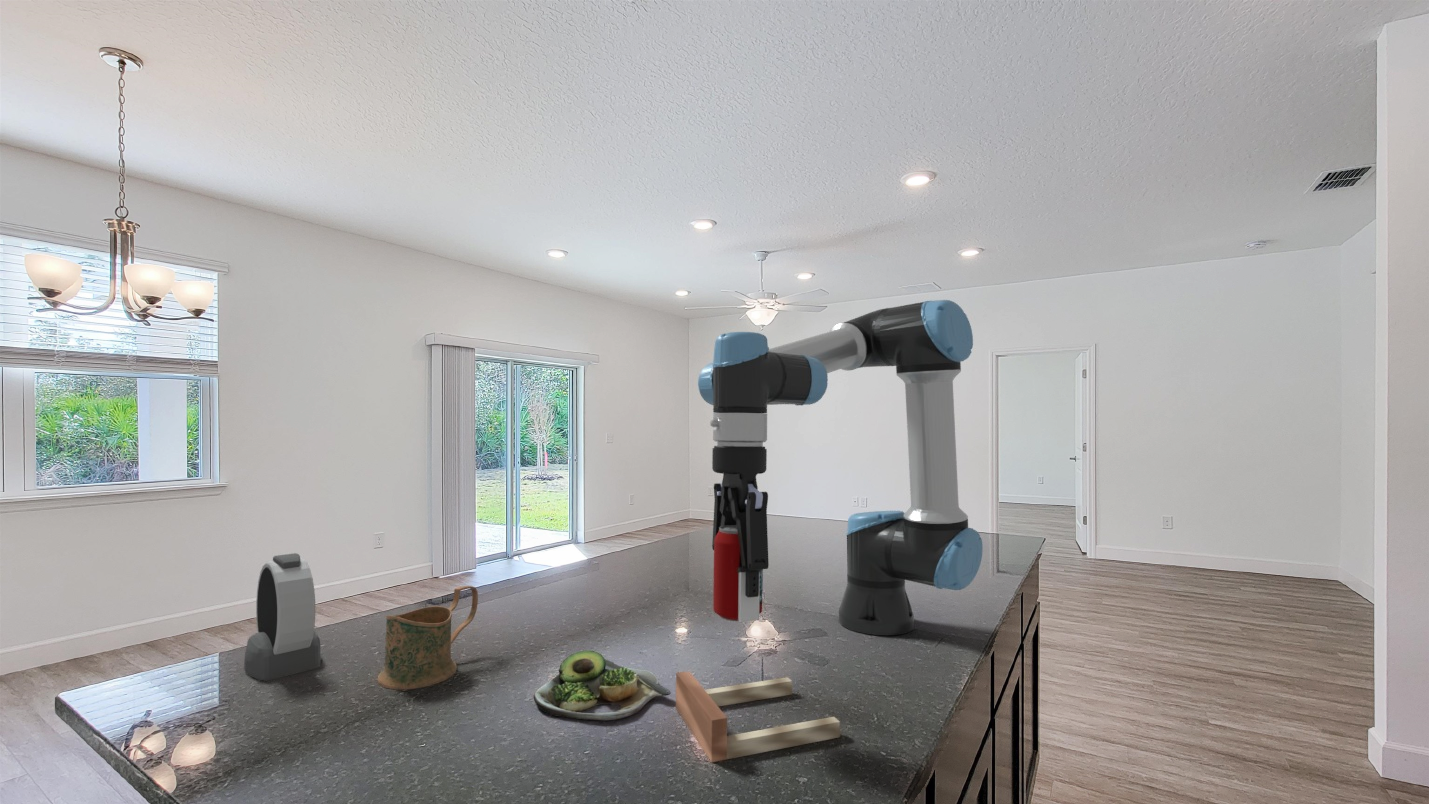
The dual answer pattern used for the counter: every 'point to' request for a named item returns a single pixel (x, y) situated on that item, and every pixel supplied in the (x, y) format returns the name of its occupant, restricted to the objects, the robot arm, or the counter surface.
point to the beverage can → (728, 573)
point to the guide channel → (713, 739)
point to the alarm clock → (283, 621)
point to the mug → (422, 645)
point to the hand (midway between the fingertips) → (737, 611)
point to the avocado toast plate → (597, 688)
